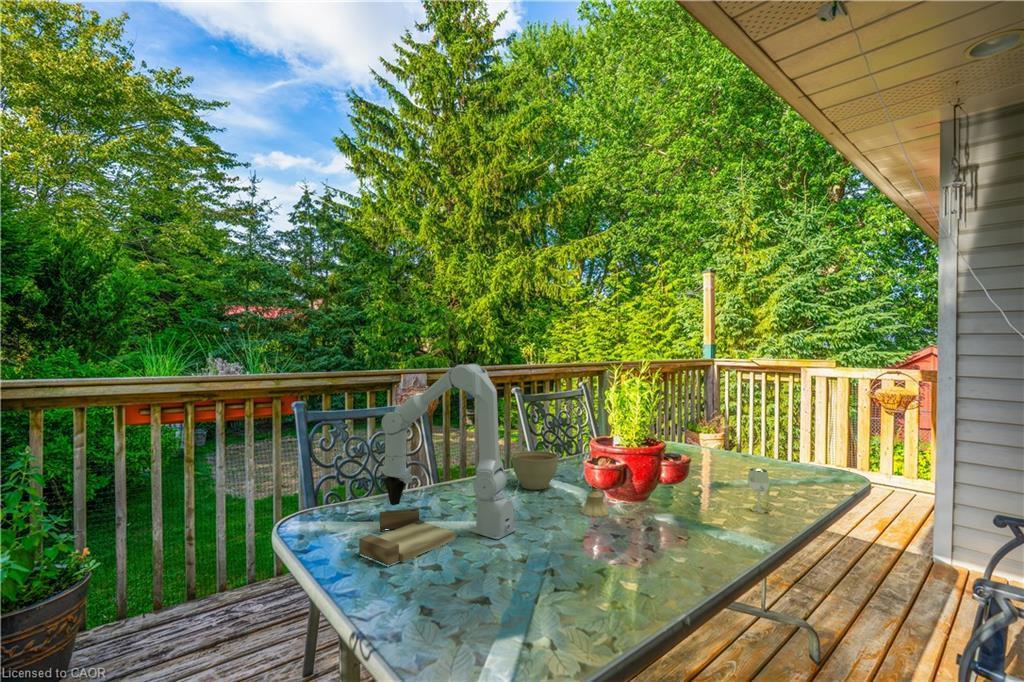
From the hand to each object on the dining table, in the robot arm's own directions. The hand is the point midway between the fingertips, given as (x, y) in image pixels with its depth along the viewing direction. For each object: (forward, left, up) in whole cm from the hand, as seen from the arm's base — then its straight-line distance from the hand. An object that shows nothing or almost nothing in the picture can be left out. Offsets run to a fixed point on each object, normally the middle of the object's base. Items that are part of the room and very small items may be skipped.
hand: (394, 504), depth 137 cm
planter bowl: (-13, -51, -4) cm, 53 cm away
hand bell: (-42, -39, -4) cm, 57 cm away
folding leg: (-6, +4, -4) cm, 8 cm away
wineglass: (-80, -70, -4) cm, 106 cm away
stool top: (-17, +11, -4) cm, 21 cm away
